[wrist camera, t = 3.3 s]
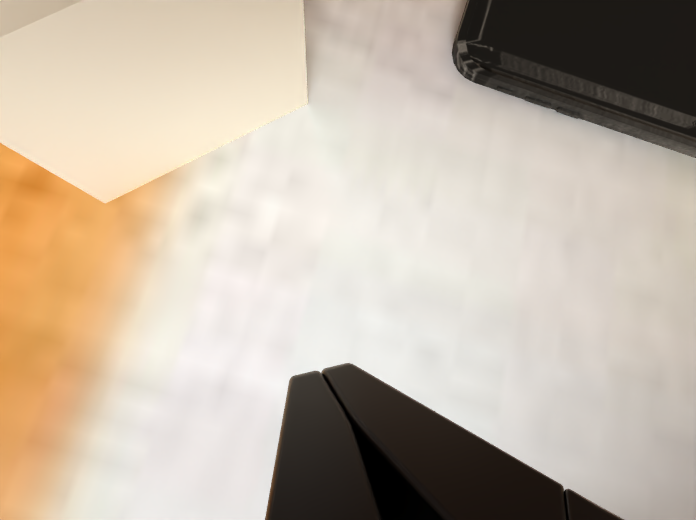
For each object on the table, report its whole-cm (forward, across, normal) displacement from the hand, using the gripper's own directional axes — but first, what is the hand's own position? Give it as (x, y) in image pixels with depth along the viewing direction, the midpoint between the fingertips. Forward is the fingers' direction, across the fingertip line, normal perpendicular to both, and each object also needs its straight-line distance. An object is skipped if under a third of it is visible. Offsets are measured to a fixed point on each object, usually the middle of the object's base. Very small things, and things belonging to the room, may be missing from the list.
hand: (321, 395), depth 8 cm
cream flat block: (+15, 0, -1) cm, 15 cm away
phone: (+13, -17, -2) cm, 22 cm away
